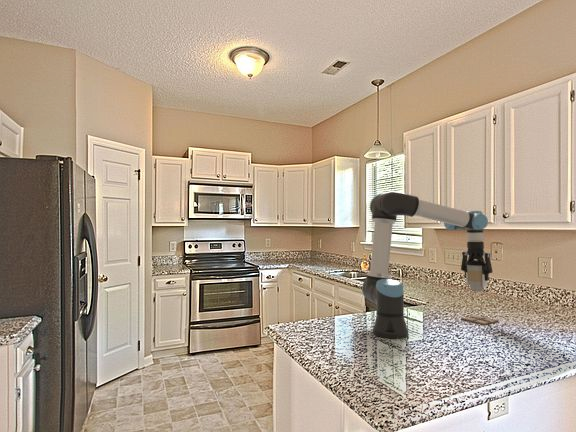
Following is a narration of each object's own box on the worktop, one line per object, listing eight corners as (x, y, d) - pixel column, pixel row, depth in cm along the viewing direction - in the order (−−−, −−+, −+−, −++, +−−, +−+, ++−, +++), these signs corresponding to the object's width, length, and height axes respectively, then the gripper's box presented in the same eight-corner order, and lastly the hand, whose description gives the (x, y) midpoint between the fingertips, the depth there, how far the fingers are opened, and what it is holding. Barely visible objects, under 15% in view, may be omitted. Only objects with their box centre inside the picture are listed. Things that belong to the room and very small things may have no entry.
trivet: (483, 325, 169) (483, 322, 169) (461, 319, 180) (461, 317, 180) (498, 321, 175) (498, 319, 175) (475, 316, 186) (475, 314, 186)
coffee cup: (485, 292, 172) (484, 261, 173) (464, 290, 178) (463, 261, 178) (488, 289, 180) (487, 260, 180) (468, 288, 185) (467, 259, 186)
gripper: (500, 241, 172) (501, 288, 171) (461, 240, 190) (462, 282, 190) (491, 241, 169) (492, 289, 168) (452, 240, 187) (453, 283, 186)
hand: (476, 285), depth 179 cm, fingers closed on coffee cup, 8 cm apart
